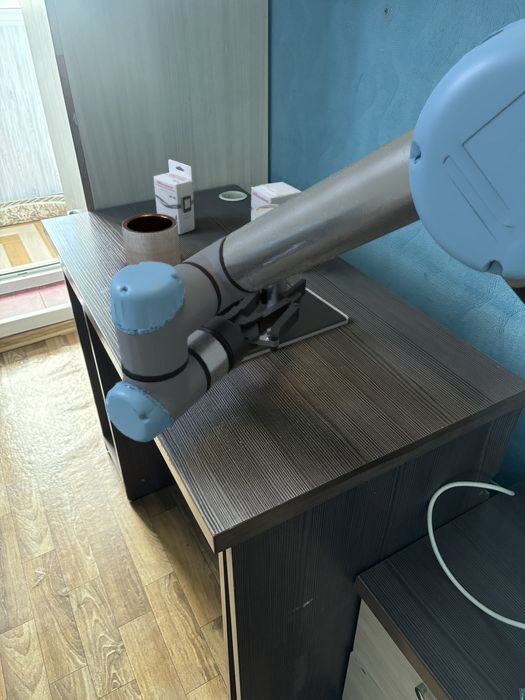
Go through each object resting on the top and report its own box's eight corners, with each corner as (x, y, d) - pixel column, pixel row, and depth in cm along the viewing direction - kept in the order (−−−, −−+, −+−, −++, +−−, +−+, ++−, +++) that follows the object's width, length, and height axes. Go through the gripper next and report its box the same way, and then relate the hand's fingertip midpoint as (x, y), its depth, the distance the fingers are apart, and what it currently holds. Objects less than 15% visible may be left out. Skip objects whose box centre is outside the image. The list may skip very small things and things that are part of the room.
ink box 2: (300, 241, 119) (303, 191, 112) (268, 249, 115) (270, 197, 108) (280, 229, 125) (282, 180, 118) (249, 235, 121) (250, 185, 114)
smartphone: (177, 332, 88) (176, 324, 87) (304, 292, 100) (305, 284, 99) (215, 374, 79) (215, 365, 78) (350, 324, 91) (351, 316, 90)
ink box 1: (157, 225, 125) (150, 162, 116) (173, 219, 128) (168, 158, 119) (179, 235, 120) (175, 170, 112) (196, 229, 123) (192, 166, 115)
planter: (134, 283, 100) (128, 237, 95) (122, 261, 108) (115, 217, 103) (188, 274, 104) (185, 228, 99) (172, 252, 112) (168, 209, 107)
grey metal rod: (287, 332, 85) (292, 260, 78) (277, 340, 83) (280, 267, 76) (273, 326, 87) (276, 255, 79) (262, 334, 85) (264, 261, 77)
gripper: (163, 356, 74) (252, 290, 90) (259, 396, 67) (335, 317, 84) (158, 311, 69) (252, 250, 86) (260, 349, 63) (340, 275, 79)
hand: (293, 283), depth 85 cm, fingers closed on grey metal rod, 3 cm apart
